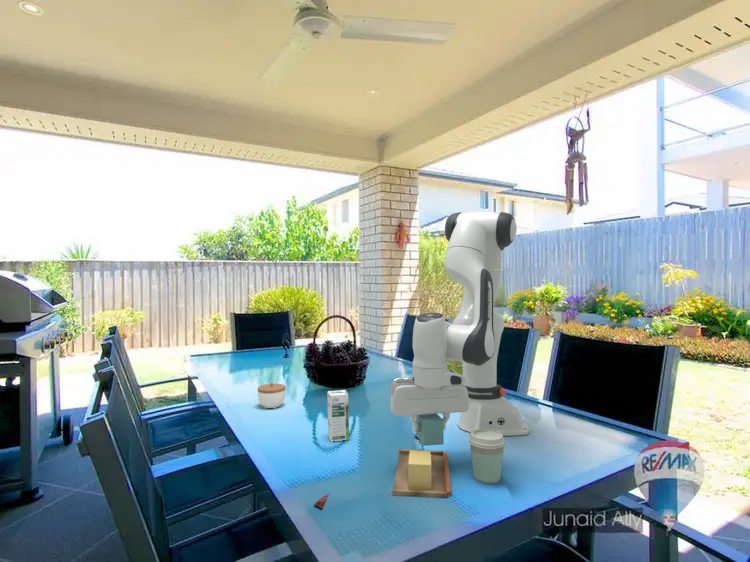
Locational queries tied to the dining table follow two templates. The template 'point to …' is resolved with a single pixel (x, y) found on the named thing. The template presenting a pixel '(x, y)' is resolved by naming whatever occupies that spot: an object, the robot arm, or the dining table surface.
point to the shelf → (438, 476)
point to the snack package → (322, 501)
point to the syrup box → (338, 415)
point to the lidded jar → (271, 395)
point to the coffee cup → (487, 454)
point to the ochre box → (419, 470)
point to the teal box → (430, 429)
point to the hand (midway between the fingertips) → (429, 430)
